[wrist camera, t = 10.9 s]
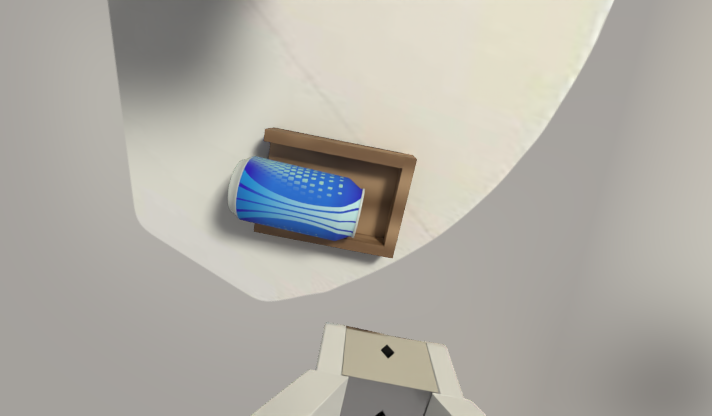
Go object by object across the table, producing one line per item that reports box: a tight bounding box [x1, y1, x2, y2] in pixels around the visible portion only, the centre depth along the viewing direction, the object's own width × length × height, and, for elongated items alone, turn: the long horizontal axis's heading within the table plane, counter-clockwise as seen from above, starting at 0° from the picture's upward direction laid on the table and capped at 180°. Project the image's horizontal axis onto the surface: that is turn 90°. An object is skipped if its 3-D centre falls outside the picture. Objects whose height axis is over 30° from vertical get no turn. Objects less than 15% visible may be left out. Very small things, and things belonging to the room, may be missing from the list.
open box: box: [254, 128, 417, 258], centre depth 45 cm, size 14×20×4 cm
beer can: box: [227, 156, 365, 241], centre depth 43 cm, size 8×8×16 cm
